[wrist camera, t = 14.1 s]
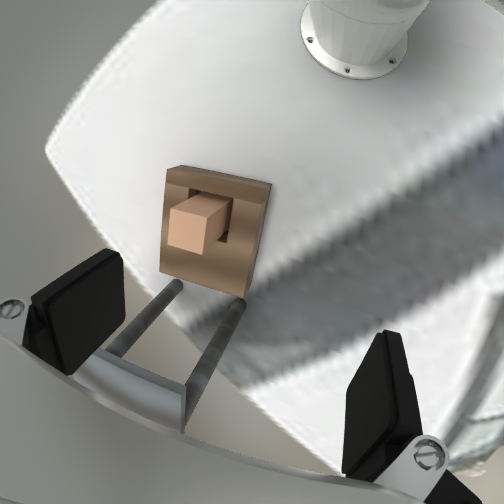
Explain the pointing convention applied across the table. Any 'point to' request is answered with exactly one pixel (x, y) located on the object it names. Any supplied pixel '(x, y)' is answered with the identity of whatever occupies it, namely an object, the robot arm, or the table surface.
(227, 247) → the socket block
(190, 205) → the peg
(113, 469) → the robot arm
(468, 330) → the table surface
